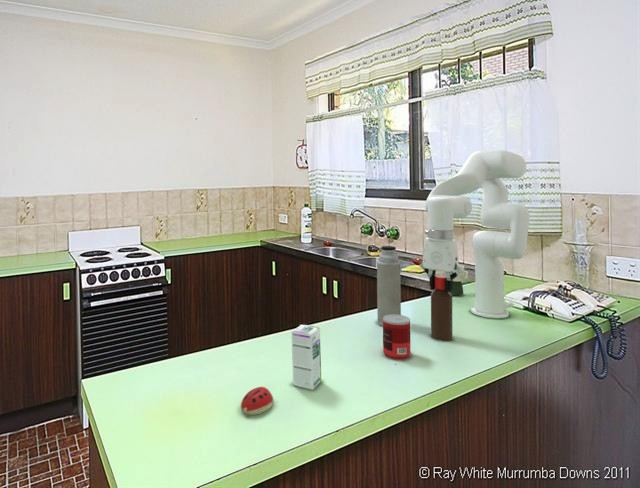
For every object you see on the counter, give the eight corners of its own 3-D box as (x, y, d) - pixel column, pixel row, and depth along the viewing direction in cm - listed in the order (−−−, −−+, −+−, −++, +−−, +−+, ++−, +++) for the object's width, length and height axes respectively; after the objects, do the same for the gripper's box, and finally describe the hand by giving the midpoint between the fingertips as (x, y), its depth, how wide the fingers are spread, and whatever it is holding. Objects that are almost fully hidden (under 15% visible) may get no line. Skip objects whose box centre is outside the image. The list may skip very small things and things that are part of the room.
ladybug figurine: (279, 401, 106) (279, 387, 106) (258, 421, 98) (258, 405, 98) (255, 394, 110) (255, 380, 110) (233, 412, 102) (233, 397, 102)
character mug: (472, 295, 191) (471, 266, 191) (464, 299, 187) (463, 268, 187) (447, 291, 200) (447, 262, 200) (439, 293, 196) (439, 264, 195)
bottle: (442, 332, 149) (442, 275, 148) (456, 339, 143) (456, 279, 142) (426, 335, 147) (426, 277, 147) (440, 341, 141) (440, 281, 140)
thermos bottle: (375, 319, 163) (374, 244, 162) (397, 320, 163) (396, 244, 162) (380, 327, 155) (379, 248, 154) (403, 327, 155) (402, 248, 154)
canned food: (414, 353, 132) (414, 317, 132) (403, 362, 127) (403, 324, 126) (390, 347, 138) (389, 312, 137) (378, 355, 132) (378, 319, 131)
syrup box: (313, 390, 111) (312, 334, 111) (292, 385, 114) (291, 329, 114) (321, 381, 116) (320, 327, 116) (301, 376, 119) (300, 323, 119)
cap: (432, 288, 145) (432, 276, 145) (438, 285, 147) (438, 274, 147) (444, 290, 142) (444, 278, 142) (450, 288, 144) (450, 276, 144)
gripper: (410, 233, 148) (411, 287, 149) (461, 238, 135) (461, 298, 135) (422, 231, 153) (422, 283, 153) (472, 236, 140) (472, 293, 140)
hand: (441, 289), depth 144 cm, fingers open, 4 cm apart
